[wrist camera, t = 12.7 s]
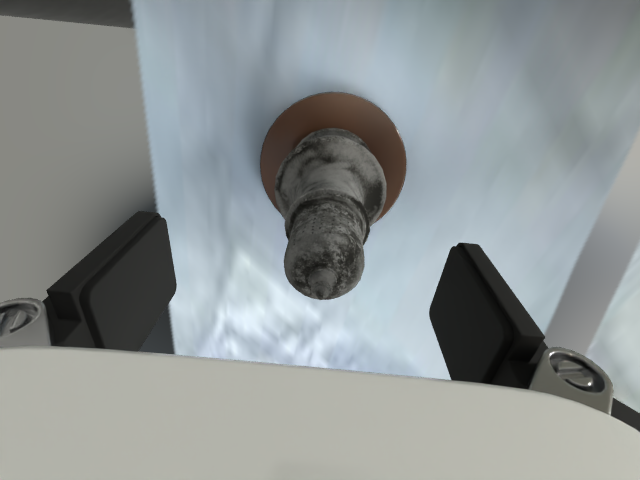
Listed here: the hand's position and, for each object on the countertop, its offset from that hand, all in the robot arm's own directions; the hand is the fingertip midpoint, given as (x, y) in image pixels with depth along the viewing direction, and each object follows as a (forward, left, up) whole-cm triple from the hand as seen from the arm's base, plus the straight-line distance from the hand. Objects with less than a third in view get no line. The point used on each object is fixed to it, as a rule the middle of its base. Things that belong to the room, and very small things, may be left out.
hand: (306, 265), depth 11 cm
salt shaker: (+1, 0, -11) cm, 11 cm away
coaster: (+1, 0, -11) cm, 11 cm away
